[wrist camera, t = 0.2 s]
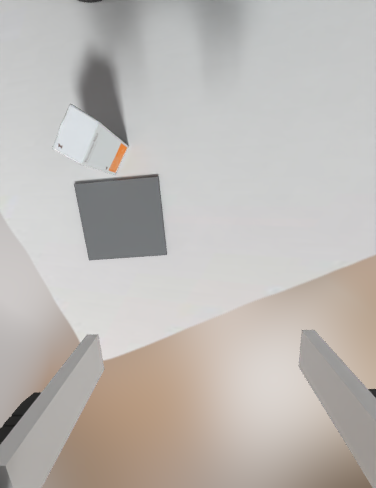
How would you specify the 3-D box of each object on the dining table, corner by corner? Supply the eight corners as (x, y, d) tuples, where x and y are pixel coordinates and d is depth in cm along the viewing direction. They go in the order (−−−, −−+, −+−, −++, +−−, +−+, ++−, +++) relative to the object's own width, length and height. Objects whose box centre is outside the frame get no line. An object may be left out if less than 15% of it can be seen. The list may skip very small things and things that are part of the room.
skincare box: (116, 176, 38) (80, 166, 26) (95, 164, 37) (50, 148, 26) (130, 145, 36) (99, 120, 25) (109, 133, 36) (67, 101, 24)
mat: (75, 184, 38) (74, 184, 38) (158, 176, 37) (158, 176, 37) (90, 259, 41) (89, 260, 41) (166, 254, 41) (166, 254, 40)
